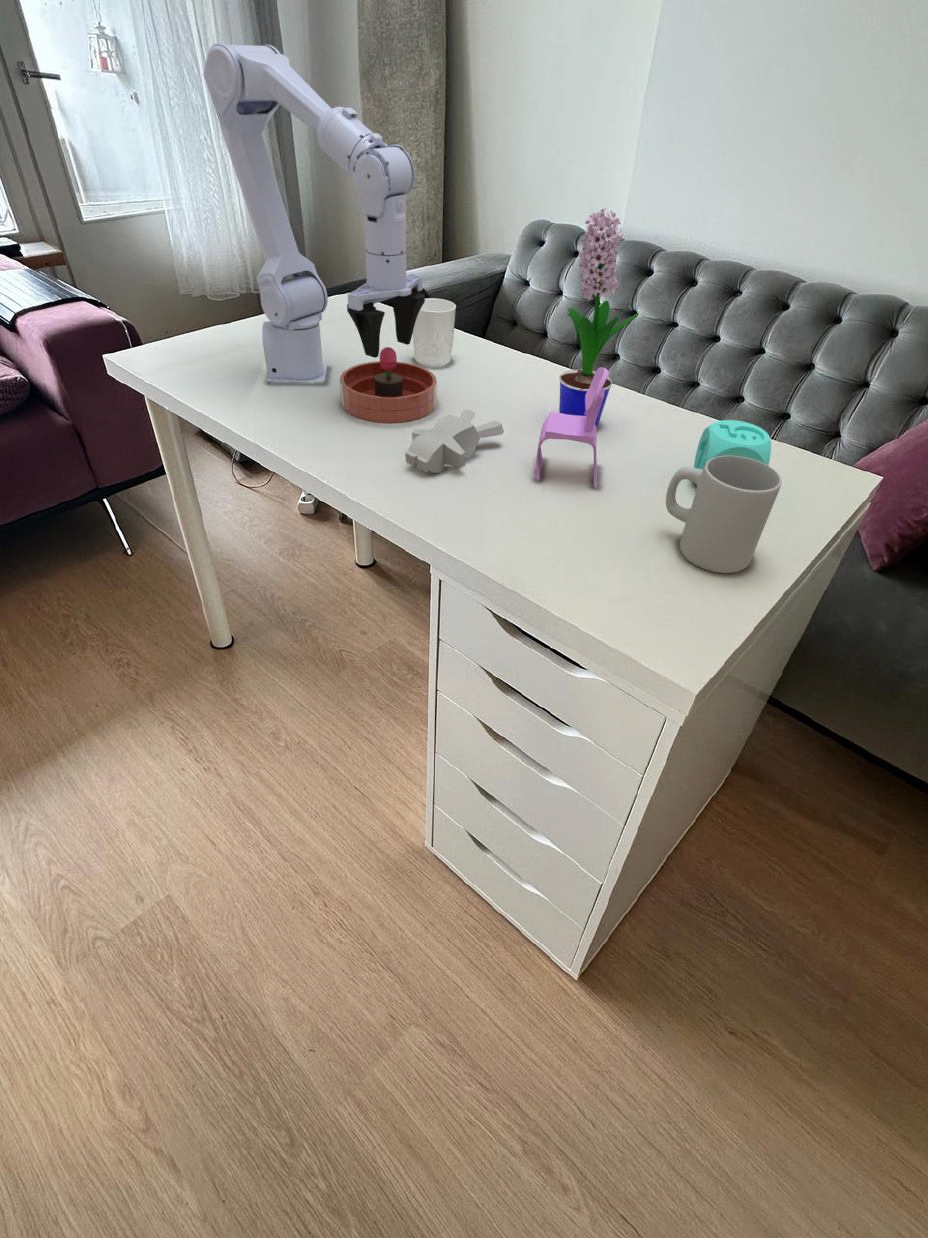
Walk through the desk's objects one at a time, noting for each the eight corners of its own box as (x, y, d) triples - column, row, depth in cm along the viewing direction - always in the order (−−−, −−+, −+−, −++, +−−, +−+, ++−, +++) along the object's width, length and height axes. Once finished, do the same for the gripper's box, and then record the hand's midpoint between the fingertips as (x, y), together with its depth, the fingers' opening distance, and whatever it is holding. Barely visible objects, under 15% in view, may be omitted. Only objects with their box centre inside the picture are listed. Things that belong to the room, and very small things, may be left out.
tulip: (375, 407, 107) (373, 352, 101) (375, 396, 110) (373, 342, 105) (402, 408, 108) (402, 352, 102) (402, 397, 111) (402, 342, 105)
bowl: (339, 425, 103) (337, 397, 100) (344, 386, 114) (342, 359, 111) (438, 427, 104) (439, 399, 102) (433, 388, 116) (434, 361, 113)
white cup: (452, 370, 122) (455, 313, 116) (409, 368, 122) (409, 310, 116) (454, 355, 128) (456, 299, 122) (413, 352, 128) (413, 296, 122)
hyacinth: (613, 440, 104) (661, 219, 84) (548, 431, 105) (579, 211, 86) (615, 417, 111) (659, 207, 91) (553, 409, 112) (584, 199, 92)
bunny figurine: (389, 435, 93) (461, 393, 100) (393, 467, 96) (462, 424, 104) (440, 459, 88) (511, 413, 96) (442, 491, 92) (510, 445, 99)
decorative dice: (690, 468, 99) (706, 416, 93) (746, 475, 98) (765, 423, 93) (695, 495, 93) (712, 441, 87) (755, 503, 92) (775, 449, 87)
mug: (760, 551, 83) (793, 471, 76) (734, 583, 78) (767, 500, 70) (670, 515, 88) (693, 438, 81) (641, 543, 83) (663, 462, 76)
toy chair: (537, 456, 99) (551, 353, 89) (597, 463, 98) (618, 360, 88) (532, 483, 93) (547, 376, 83) (596, 492, 92) (618, 384, 82)
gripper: (373, 265, 88) (376, 368, 97) (439, 247, 98) (437, 343, 106) (333, 255, 91) (340, 356, 100) (401, 238, 100) (402, 332, 109)
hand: (388, 348), depth 103 cm, fingers open, 7 cm apart
